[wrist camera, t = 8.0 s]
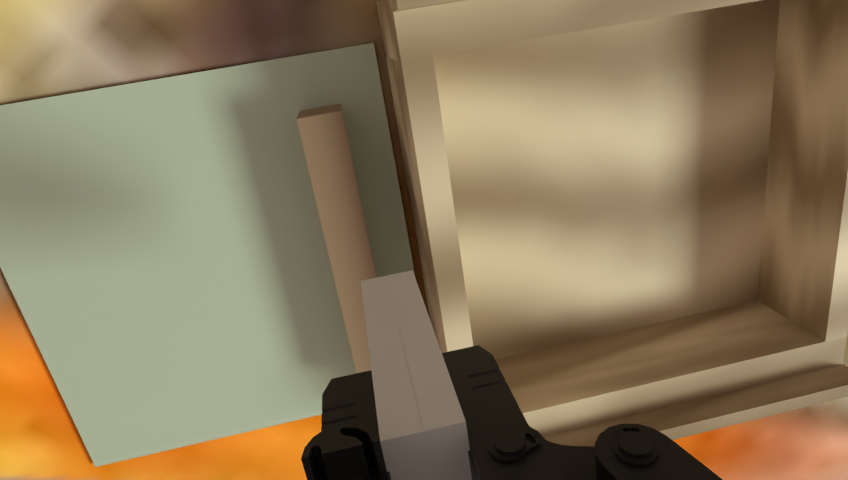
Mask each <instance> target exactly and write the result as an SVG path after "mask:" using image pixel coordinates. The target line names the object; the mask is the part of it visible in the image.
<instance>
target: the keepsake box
mask: <svg viewBox="0 0 848 480" xmlns="http://www.w3.org/2000/svg"><path fill="white" fill-rule="evenodd" d="M376 3H377V9H378V15H379V21H380V26H381V32H382V38H383V44H384V50H385V56H386V62H387V68H388V74H389V80H390V86H391V92H392V98H393V104H394V110H395V115H396V121H397V127H398V133H399V139H400V145H401V151H402V157H403V163H404V169H405V175H406V181H407V187H408V193H409V198H410V204H411V210H412V216H413V222H414V228H415V234H416V240H417V246H418V252H419V258H420V264H421V270H422V276H423V281H424V287H425V293H426V299H427V305H428V311H429V317H430V321H431V324H432V327H433V330H434V332H435V335H436V338H437V341H438V344H439V347H440V349H441V352H442V353H445V352H449V351H454V350H458V349H463V348H468V347H472V346H477V345H479V346H480V347H482V348H483V349H485V350H486V351H488V352H489V353H491V354H492V355H493V356H494V358H495V360H496V362H497V364H498V366H499V368H500V371H501V372H502V374H503V376H504V378H505V381H506V383H507V384H508V386H509V388H510V390H511V392H512V394H513V396H514V398H515V400H516V402H517V404H518V406H519V408H520V410H521V412H522V414H523V415H524V417H525V419H526V421H527V423H528V425H529V426H530V427H531V428H533V429H535V430H537V431H539V433H540V434H541V435H542V436H543V437H544V438H545V439H546V440H548V441H550V442H553V443H556V444H560V445H568V446H595V442H596V440H597V438H598V436H599V434H600V433H602V432H603V431H604V430H606V429H607V428H608V427H611V426H615V425H619V424H640V425H644V426H648V427H651V428H654V429H656V430H657V431H659V432H661V433H663V434H664V435H666V436H667V437H669V438H670V439H671V440H674V439H678V438H682V437H686V436H690V435H694V434H698V433H702V432H706V431H710V430H714V429H719V428H723V427H727V426H731V425H735V424H739V423H743V422H747V421H751V420H755V419H759V418H763V417H767V416H771V415H775V414H779V413H783V412H787V411H791V410H795V409H799V408H803V407H807V406H811V405H815V404H819V403H823V402H827V401H831V400H835V399H839V398H843V397H847V396H848V367H846V366H845V365H843V359H844V352H845V345H846V338H847V331H848V0H378V1H377V2H376Z"/></svg>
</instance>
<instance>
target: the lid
mask: <svg viewBox="0 0 848 480" xmlns="http://www.w3.org/2000/svg"><path fill="white" fill-rule="evenodd" d="M0 268H1V270H2V272H3V274H4V276H5V278H6V281H7V283H8V285H9V287H10V289H11V291H12V293H13V295H14V297H15V299H16V302H17V304H18V306H19V308H20V310H21V312H22V314H23V316H24V318H25V320H26V323H27V325H28V327H29V329H30V331H31V333H32V335H33V337H34V339H35V341H36V344H37V346H38V348H39V350H40V352H41V354H42V356H43V358H44V360H45V362H46V365H47V367H48V369H49V371H50V373H51V375H52V377H53V379H54V381H55V383H56V386H57V388H58V390H59V392H60V394H61V396H62V398H63V400H64V402H65V404H66V407H67V409H68V411H69V413H70V415H71V417H72V419H73V421H74V423H75V425H76V428H77V430H78V432H79V434H80V436H81V438H82V440H83V442H84V444H85V446H86V449H87V451H88V453H89V455H90V457H91V459H92V461H93V463H94V465H95V467H97V466H102V465H106V464H110V463H114V462H119V461H123V460H127V459H132V458H136V457H140V456H145V455H149V454H153V453H158V452H162V451H166V450H171V449H175V448H179V447H183V446H188V445H192V444H196V443H201V442H205V441H209V440H214V439H218V438H222V437H227V436H231V435H235V434H239V433H244V432H248V431H252V430H257V429H261V428H265V427H270V426H274V425H278V424H283V423H287V422H291V421H296V420H300V419H304V418H308V417H313V416H317V415H321V414H322V394H323V392H324V391H325V389H326V387H327V386H328V384H329V382H330V380H331V379H333V378H338V377H342V376H347V375H351V374H356V373H361V372H365V371H370V370H371V363H370V355H369V347H368V339H367V330H366V322H365V314H364V306H363V298H362V290H361V282H360V281H363V280H368V279H372V278H377V277H382V276H387V275H392V274H397V273H402V272H407V271H412V270H413V273H414V275H415V272H414V267H413V261H412V255H411V250H410V244H409V238H408V233H407V227H406V221H405V216H404V210H403V205H402V199H401V193H400V188H399V182H398V176H397V171H396V165H395V160H394V154H393V148H392V143H391V137H390V131H389V126H388V120H387V114H386V109H385V103H384V98H383V92H382V86H381V81H380V75H379V69H378V64H377V58H376V52H375V47H374V43H369V44H363V45H357V46H351V47H345V48H339V49H333V50H327V51H321V52H315V53H309V54H303V55H297V56H291V57H285V58H279V59H273V60H267V61H261V62H255V63H249V64H244V65H238V66H232V67H226V68H220V69H214V70H208V71H202V72H196V73H190V74H184V75H178V76H172V77H166V78H160V79H154V80H148V81H142V82H136V83H130V84H124V85H119V86H113V87H107V88H101V89H95V90H89V91H83V92H77V93H71V94H65V95H59V96H53V97H47V98H41V99H35V100H29V101H23V102H17V103H11V104H5V105H0Z"/></svg>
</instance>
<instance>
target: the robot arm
mask: <svg viewBox="0 0 848 480" xmlns="http://www.w3.org/2000/svg"><path fill="white" fill-rule="evenodd" d="M360 282H361V290H362V298H363V306H364V314H365V322H366V330H367V339H368V347H369V355H370V363H371V370H370V371H365V372H361V373H356V374H351V375H347V376H342V377H338V378H333V379H331V380H330V382H329V384H328V386H327V387H326V389H325V391H324V392H323V394H322V429H321V432H320V433H319V434H317V435H316V436H314V437H313V438H312V440H311V441H310V442H309V443H308V444H307V446H306V447H305V449H304V452H303V455H302V458H301V460H302V463H303V466H304V470H305V473H306V476H307V480H722V479H721V478H720V477H718V476H717V475H716V474H715V473H713V472H712V471H711V470H709V469H708V468H707V467H706V466H704V465H703V464H702V463H701V462H699V461H698V460H697V459H695V458H694V457H693V456H692V455H690V454H689V453H688V452H686V451H685V450H684V449H683V448H681V447H680V446H679V445H678V444H676V443H675V442H674V441H672V440H671V439H670V438H669V437H667V436H666V435H664V434H663V433H661V432H659V431H657V430H656V429H654V428H651V427H648V426H644V425H640V424H619V425H615V426H611V427H608V428H607V429H606V430H604V431H603V432H602V433H600V434H599V436H598V438H597V440H596V442H595V446H568V445H560V444H556V443H553V442H550V441H548V440H546V439H545V438H544V437H543V436H542V435H541V434H540V433H539V431H537V430H535V429H533V428H531V427H530V426H529V425H528V423H527V421H526V419H525V417H524V415H523V414H522V412H521V410H520V408H519V406H518V404H517V402H516V400H515V398H514V396H513V394H512V392H511V390H510V388H509V386H508V384H507V383H506V381H505V378H504V376H503V374H502V372H501V371H500V368H499V366H498V364H497V362H496V360H495V358H494V356H493V355H492V354H491V353H489V352H488V351H486V350H485V349H483V348H482V347H480V346H479V345H477V346H472V347H468V348H463V349H458V350H454V351H449V352H445V353H442V352H441V349H440V347H439V344H438V341H437V338H436V335H435V332H434V330H433V327H432V324H431V321H430V318H429V315H428V312H427V310H426V307H425V304H424V301H423V298H422V295H421V292H420V290H419V287H418V284H417V281H416V278H415V275H414V273H413V270H412V271H407V272H402V273H397V274H392V275H387V276H382V277H377V278H372V279H368V280H363V281H360Z"/></svg>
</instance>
